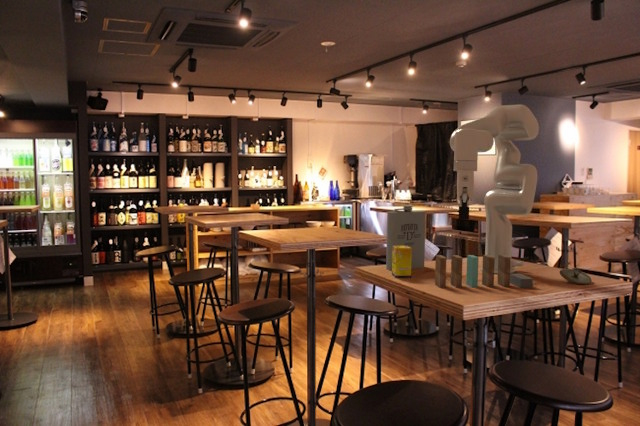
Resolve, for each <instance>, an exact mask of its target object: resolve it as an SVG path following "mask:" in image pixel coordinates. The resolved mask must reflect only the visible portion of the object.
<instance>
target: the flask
mask: <svg viewBox="0 0 640 426" xmlns="http://www.w3.org/2000/svg"><path fill="white" fill-rule="evenodd" d="M413 207H414V206H413V205H407V204H405V205H402V207H401V208H394V211H387V212H386V255H385V256H386V259H385V262H386V263H385V264H386V265H385V268H386V270H387V269H388V271H392V246H409V247H410V248H412V260H411V270H412V269H413V270H414V268H415V269H422V268H425V261H426V259H425V258H426V257H425V252H426V251H425V250H426V215H427V214H426V213H427V212H426V210H413ZM421 267H422V268H421Z"/></svg>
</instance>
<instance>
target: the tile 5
mask: <svg viewBox="0 0 640 426" xmlns="http://www.w3.org/2000/svg"><path fill="white" fill-rule="evenodd" d="M511 259H512V256H511V257H509V256H506V255H498V273H497V281H496V282H497V285H498V286H501V287H503V288H508V287H509V288H510V285H511V283H510V274H511V273H510V262H511Z"/></svg>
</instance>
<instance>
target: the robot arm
mask: <svg viewBox="0 0 640 426" xmlns="http://www.w3.org/2000/svg"><path fill="white" fill-rule="evenodd" d="M539 129H540V125H539V122H538V120H537V118H536V116H535V115H534V114H533V112H532V110H530V108H529V107H528V106H527V105H525V104H508V105H507V104H505V105H498V106H496V107H494V108H492V109H491V110H490V111H489V112H487V114H486V115H484V116H483V117H481V118H478V119H474V120H472V121H469V122H467V123H465V124H462V125H460V126H458V127H457V128H456V129H455V130H454V131H453V132H452V134H451V135H450V139H449V146H450V148H451V150H452V151H453V153H454V155H453V172H457V173H456V174H457V175H456V194H457V201H459V205H458V220H466V221H468V220H469V219H470V204H469V203H470V201H471V202H473V201H474V190H475V189H474V188H475V187H474V186H475V184H474V182H475V174H474V172H478V159H479V158H478V156H479V153H486V152H489V151H491V149H492V148H493V146H494V143H495V145H496V147H495V148H496V149H497V157H496V162H495V167H494V172H493V184H494V185H495V187H497V188H496V189H491V190H488V191H487V192H486V193H485V195H484V201H483V202H484V210H485V219H486V220H485V222H486V223H485V227H486V228H485V245H484V246H485V248H484V249H485V251H484V255H490V256H493V257H495V265H494V274H498V255H506V256H509V257H511V262H510V274H515V271H516V269H515V267H524V262H523V260H522V261H519V260H518V261H517V260H514V259H512V243H513V241H512V238H513V224H512V222H511V220H510V219H509V218H508V216H509V215H511V216H512V215H514V216H527V215H529V214H530V213H532V210H533V207H534V202H535V197H536V196H535V195H536V190H537V189H536V188H537V185H538V184H537V183H538V170H537V168H536V166H535V165H533V164H531V163H520V161H521V156H522V154H521V152H520V149H519V148H518V147H517V146H516V145H515V144H514V143H513V141H531V140H534V139H536V137H537V136H538V134H539ZM507 215H508V216H507ZM482 268H483V265H481V266H480V271H482Z"/></svg>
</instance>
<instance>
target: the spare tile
mask: <svg viewBox="0 0 640 426" xmlns="http://www.w3.org/2000/svg"><path fill="white" fill-rule="evenodd" d="M465 280H466V283H465V284H466V285H467V286H469V287H471V288H479V287H478V286H479V284H478V283H479V256H476V255H473V254H467V255H466V278H465Z"/></svg>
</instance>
